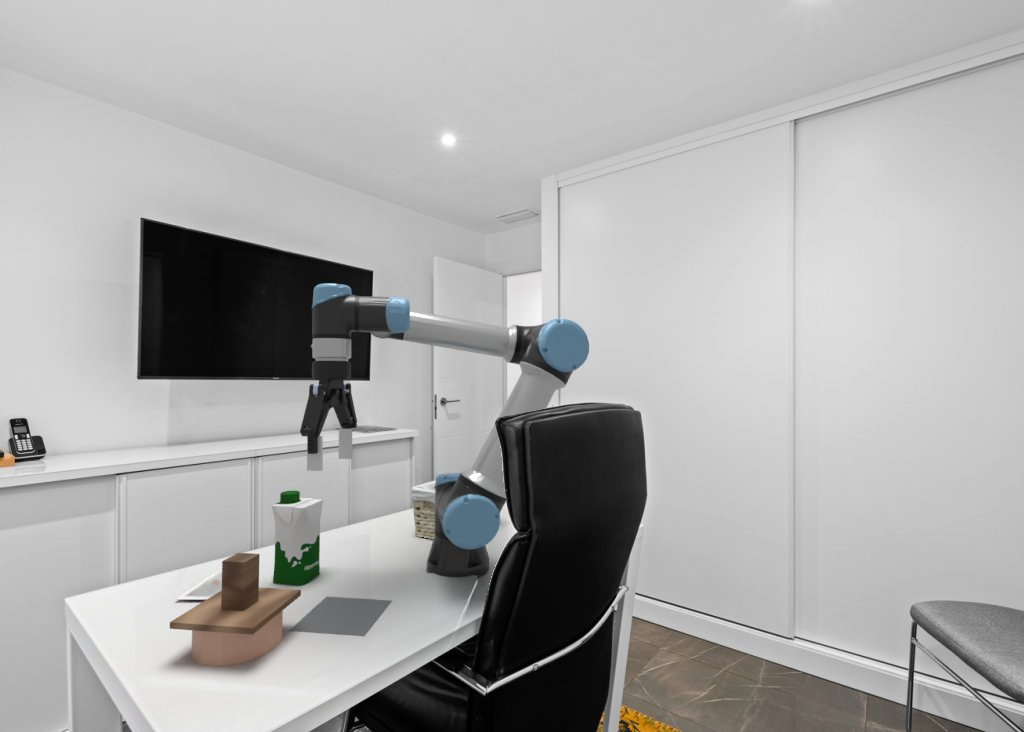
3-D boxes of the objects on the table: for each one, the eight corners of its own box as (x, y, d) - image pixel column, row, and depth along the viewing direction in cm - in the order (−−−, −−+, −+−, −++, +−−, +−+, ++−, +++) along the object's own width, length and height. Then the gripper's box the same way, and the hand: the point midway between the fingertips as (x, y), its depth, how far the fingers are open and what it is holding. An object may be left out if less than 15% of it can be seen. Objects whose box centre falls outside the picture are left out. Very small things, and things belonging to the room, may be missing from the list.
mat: (392, 605, 101) (392, 600, 101) (364, 641, 87) (364, 635, 87) (326, 601, 103) (326, 596, 103) (288, 636, 89) (288, 630, 89)
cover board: (300, 595, 91) (301, 545, 91) (252, 634, 77) (254, 575, 77) (229, 591, 93) (230, 542, 93) (169, 628, 79) (171, 571, 79)
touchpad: (175, 604, 102) (175, 594, 102) (217, 575, 117) (217, 566, 117) (213, 604, 102) (214, 594, 102) (251, 575, 117) (251, 566, 117)
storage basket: (454, 547, 137) (455, 493, 137) (407, 537, 144) (408, 486, 145) (496, 524, 158) (497, 477, 158) (454, 517, 166) (454, 472, 166)
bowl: (297, 631, 91) (297, 596, 91) (250, 675, 77) (251, 633, 78) (229, 627, 92) (229, 592, 92) (172, 668, 79) (173, 627, 79)
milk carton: (291, 573, 117) (293, 487, 118) (326, 576, 115) (327, 489, 116) (265, 588, 109) (267, 496, 109) (303, 592, 107) (304, 498, 107)
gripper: (340, 362, 115) (340, 454, 115) (280, 358, 90) (279, 475, 90) (372, 361, 114) (371, 454, 114) (320, 358, 90) (319, 476, 89)
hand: (331, 464), depth 102 cm, fingers open, 13 cm apart
